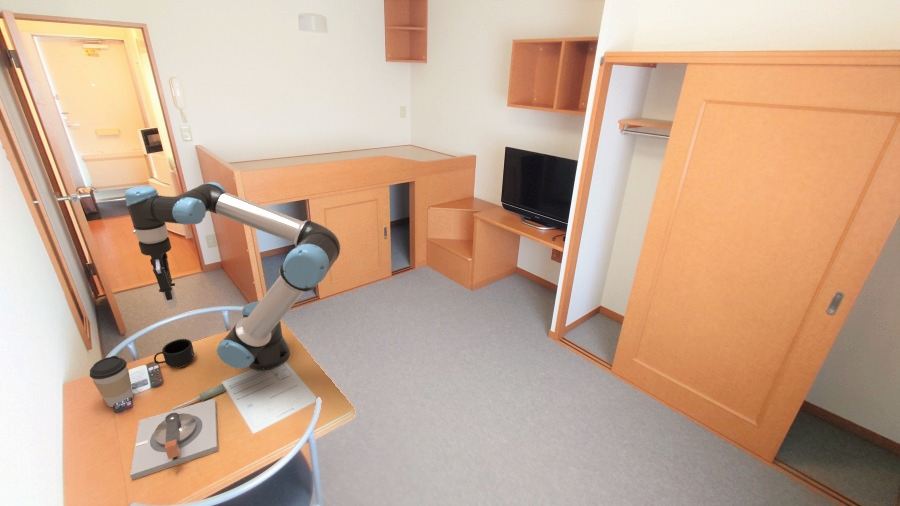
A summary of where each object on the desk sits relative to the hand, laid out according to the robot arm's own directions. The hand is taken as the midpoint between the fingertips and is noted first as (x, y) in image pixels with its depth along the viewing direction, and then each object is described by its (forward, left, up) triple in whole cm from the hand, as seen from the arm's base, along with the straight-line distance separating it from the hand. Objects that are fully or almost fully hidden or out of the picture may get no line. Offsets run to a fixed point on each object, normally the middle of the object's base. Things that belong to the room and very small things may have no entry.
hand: (172, 306), depth 129 cm
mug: (+5, -10, -30) cm, 32 cm away
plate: (+3, +27, -29) cm, 40 cm away
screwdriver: (-3, +12, -29) cm, 31 cm away
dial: (+3, +30, -27) cm, 40 cm away
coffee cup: (+20, +2, -30) cm, 36 cm away
